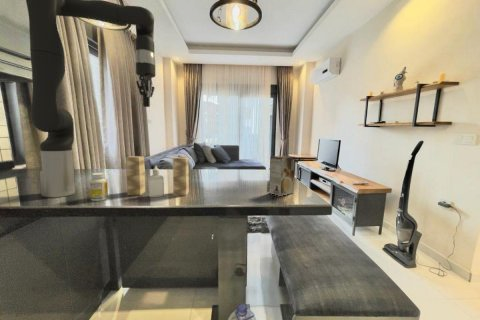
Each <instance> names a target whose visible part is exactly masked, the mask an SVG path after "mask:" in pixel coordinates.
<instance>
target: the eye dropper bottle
mask: <svg viewBox="0 0 480 320" xmlns="http://www.w3.org/2000/svg"><path fill="white" fill-rule="evenodd" d="M164 178H165V177H164V176H163V175H161V174H160V169H159V168H158V165H155V166H154V167H153V169H152V175H150V176H148V180H147V181H148V184H147V185H148V197H149V198H159V197H164V196H165V187H164V186H165V183H164V182H165V180H164Z"/></svg>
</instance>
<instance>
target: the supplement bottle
mask: <svg viewBox="0 0 480 320" xmlns="http://www.w3.org/2000/svg"><path fill="white" fill-rule="evenodd" d="M91 178H92V179H91V180H90V181H89V186H90V189H89V190H90V200H91V201H93V202H101V201H106V200H107V199H108V198H109V191H108V189H109V186H108V179H107V178H106V173H105V172H93V173H91Z"/></svg>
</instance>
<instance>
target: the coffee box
mask: <svg viewBox="0 0 480 320" xmlns="http://www.w3.org/2000/svg"><path fill="white" fill-rule="evenodd" d="M269 161H270V165H269V166H270V167H269V169H270V171H269V193H271V194H270V195H272V194H275V195H274V196H276V195H278V196H277V197H279V196H282V197H284V196H283V195H286V196H288V195H287V194H289V195H291V194H290V193H293V194H294V188H295V167H296V156H290V155H279V156H278V155H276V156H270V160H269ZM269 193H268V194H269Z"/></svg>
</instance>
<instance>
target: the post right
mask: <svg viewBox="0 0 480 320" xmlns="http://www.w3.org/2000/svg"><path fill="white" fill-rule="evenodd" d="M189 175H190V173H189V157H188V156H175V157H173V158H172V179H173V183H172V185H173V187H172V189H173V191H172V192H173V197H186V196H187V195H188V194H189V191H190V189H189V188H190V187H189V185H190V184H189V180H190V179H189Z"/></svg>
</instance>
